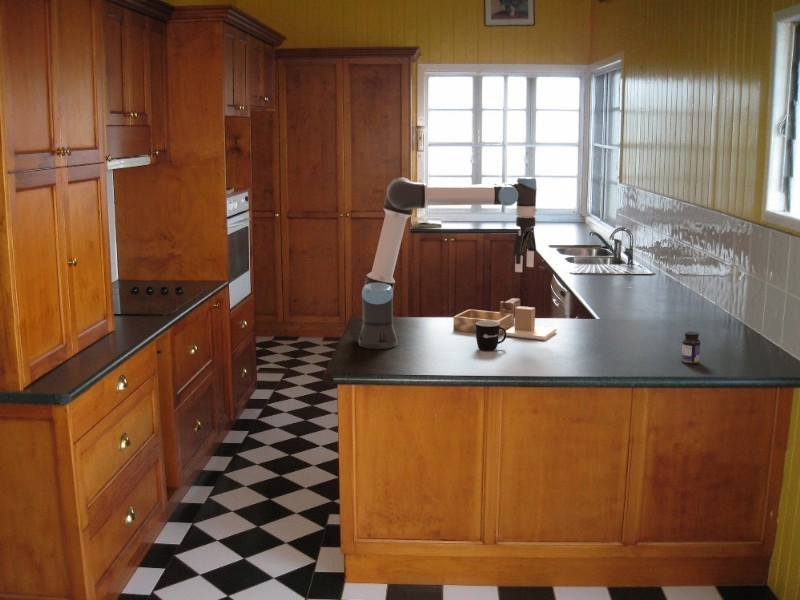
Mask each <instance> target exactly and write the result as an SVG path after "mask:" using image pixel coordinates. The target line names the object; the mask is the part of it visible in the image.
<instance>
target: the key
mask: <svg viewBox="0 0 800 600" xmlns="http://www.w3.org/2000/svg"><path fill="white" fill-rule="evenodd" d="M513 302H514V303H515V304H514V309H515V308H516V307H518V306H521V298H516V297H515V298H514V297H512V298H510V299H508V300H506V301H504V304H503V309H509V310H511V303H513Z"/></svg>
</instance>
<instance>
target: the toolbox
mask: <svg viewBox="0 0 800 600" xmlns="http://www.w3.org/2000/svg"><path fill="white" fill-rule="evenodd" d="M504 304H505V301H503V300H502V301H500V303H499V311H491V310H490V311H488V310H481V309H480V310H478V309H467V310H465V311H462V312H461V313H458V314H456V315H455V316H453V326H452V327H453V330H452V331H453V332H460V333H467V334H468V333H469V334H470V333H471V334H476V323H477V322H480V321H494V322H498V323H499V324H500V327H502V328H504V329H505V331H506V330H508V329H510V328H511V327H513V326H515V308H514V304H515V303H514V302H513V303H511V309H508V308H504ZM501 335H504V331H503V330H502V329H500V330H499V337H500V336H501Z"/></svg>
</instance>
